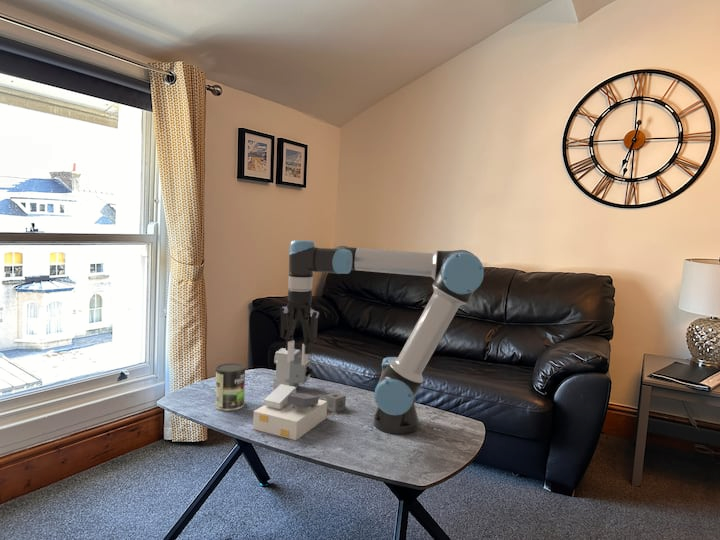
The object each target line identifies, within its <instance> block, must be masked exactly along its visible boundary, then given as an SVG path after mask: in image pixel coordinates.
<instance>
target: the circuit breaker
mask: <svg viewBox="0 0 720 540" xmlns="http://www.w3.org/2000/svg"><path fill="white" fill-rule="evenodd" d="M274 353H275V354H274V357H273V358H274V359H273V363H274V364H275V365H276V367H275V368H276V369H275V377H273V384H272V385H273V390H275V389H276V388H277V387H278V386H279V385H280V384H283V385H288V386H293V387H296V389H297V388H299V386H300V384H301V385H305V384H306V383H307V381H308V380H309V379H311V374H312V373H313V370H314V369H313V368H311V359H308V363H306V364H304V365H302V364H301V363H302V358H301V349H296V348H294V360H293V361H290V362H287V356H288V351H287V350H286V347H285V348H283V347H281V348H280V349H278V350H276V352H274Z"/></svg>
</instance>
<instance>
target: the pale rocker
mask: <svg viewBox="0 0 720 540" xmlns="http://www.w3.org/2000/svg"><path fill="white" fill-rule="evenodd" d="M295 394H297V388H296V387H293V386H288V385H283V384H280V385H279V386H278V387H277V388H276V389H273V391H271V393H270V394H268V396H266V397H265V398H264V399H263V400H264V405H265V406H267V407H272V408H276V409H280V410H281V409H282V408H283V406H284V405H285V404H286V403H287V401H288V395H295Z"/></svg>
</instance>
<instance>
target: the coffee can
mask: <svg viewBox="0 0 720 540" xmlns="http://www.w3.org/2000/svg"><path fill="white" fill-rule="evenodd" d="M245 379H246V365H244V364H241V363H235V362H234V363H233V362H232V363H223V364H220V365H219V364H218V365H217V366H216V367H215V398H214V400H215V405H214V407H215V408H216V409H217V410H219V411H225V412H230V411H232V412H233V411H236V410H237V411H238V410H240V409H242V408H243V407H245V390H246V389H245V388H246V387H245V385H246V384H245V383H246V380H245Z"/></svg>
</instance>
